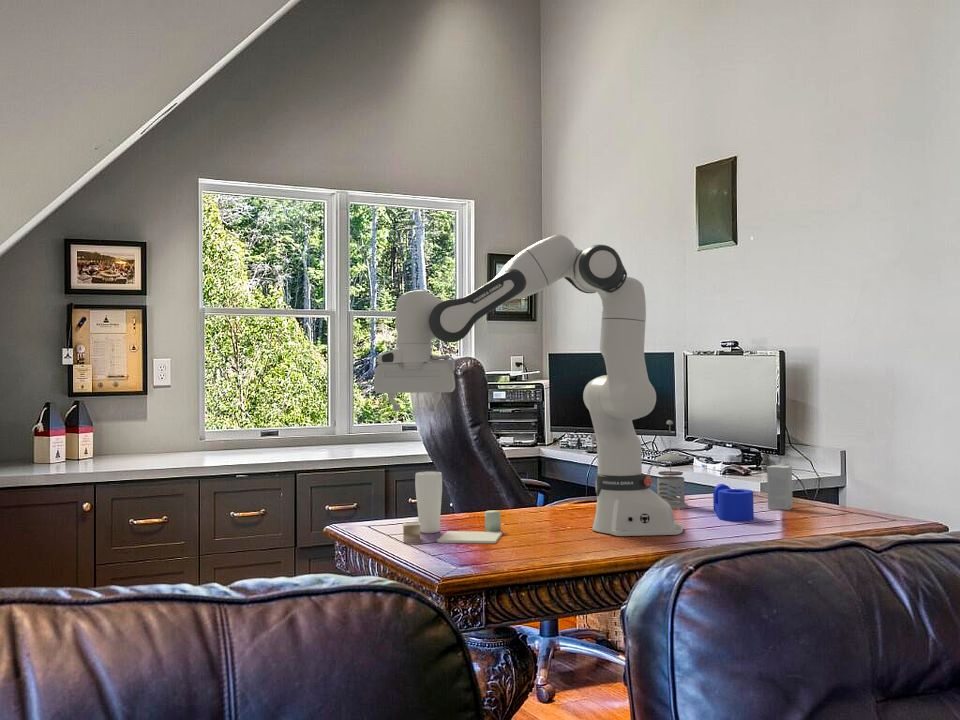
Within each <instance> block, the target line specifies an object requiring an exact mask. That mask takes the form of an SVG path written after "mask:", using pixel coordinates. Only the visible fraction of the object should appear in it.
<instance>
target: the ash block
mask: <svg viewBox="0 0 960 720" xmlns="http://www.w3.org/2000/svg"><path fill="white" fill-rule="evenodd" d="M402 528H403V531H402V533H403V534H402V537H403V543H406V542H407V543H409V542H410V541H416V542H421V532H420V522H419V521H418V522H417V521H416V522H403V523H402ZM410 543H411V542H410Z"/></svg>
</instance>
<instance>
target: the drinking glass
mask: <svg viewBox="0 0 960 720" xmlns="http://www.w3.org/2000/svg"><path fill="white" fill-rule="evenodd" d="M442 475H443V473H442V472H441V471H419V472H415V478H414V480H415V483H414V484H415V495H416V496H415V497H416V506H417V507H416V508H417V515H418V516H417V517H418V518H417V519H418V522H420V534H421V533H422V534H436V533H439V532H440V530H441V513H442V512H441V511H442V510H441V509H442V500H443V499H442V497H443V496H442V495H443V477H442Z"/></svg>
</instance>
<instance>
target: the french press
mask: <svg viewBox="0 0 960 720" xmlns="http://www.w3.org/2000/svg"><path fill="white" fill-rule="evenodd" d="M673 424H674V421H673V420H670V419H668V420H667V421H666V425H669V428H668V429H669V430H671V425H673ZM671 447H672V446H671V442H669V452H668V453H664V454H662V455H659V456H657V458H656V461H658V462H655V463H653V464H652V465H650V467H649V468H648V470H647V475H646V476H648V477H650V478H651V471H652V468H653V467H654V466H655V465H656V469H658V468H659V467H660V464H659V462H666V463H667V462H669V467H670V468H669V470H663V471H658V474H659V475H660V476H659V477H657V482H656V483H657V485H655V484H654V483H653V482H652V484H651V485H650V487H653V489H656V494H657V495H659V496H660V497H661V498H663V499H664V500H665V501H666V502H668V503H669V505H670V506H671V508H672V509H685V508H688V507H689V504H688V503H687V502H686V501H685V477H683V476H682V475H684V474H683V473H684V472H682V471H677V470H674V471H673V470H672V462H676V463H677V462H683V461H685V458H684V457H683V456H682V455H679V454H678V453H677V454H676V453H673V452H671V449H672V448H671Z"/></svg>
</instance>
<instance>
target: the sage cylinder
mask: <svg viewBox="0 0 960 720" xmlns="http://www.w3.org/2000/svg"><path fill="white" fill-rule="evenodd" d="M501 512H502V511H501V510H486V511H484V532H485V531H486V532H500V531H501V532H502V519H501V517H502V516H501V515H502V514H501Z"/></svg>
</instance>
